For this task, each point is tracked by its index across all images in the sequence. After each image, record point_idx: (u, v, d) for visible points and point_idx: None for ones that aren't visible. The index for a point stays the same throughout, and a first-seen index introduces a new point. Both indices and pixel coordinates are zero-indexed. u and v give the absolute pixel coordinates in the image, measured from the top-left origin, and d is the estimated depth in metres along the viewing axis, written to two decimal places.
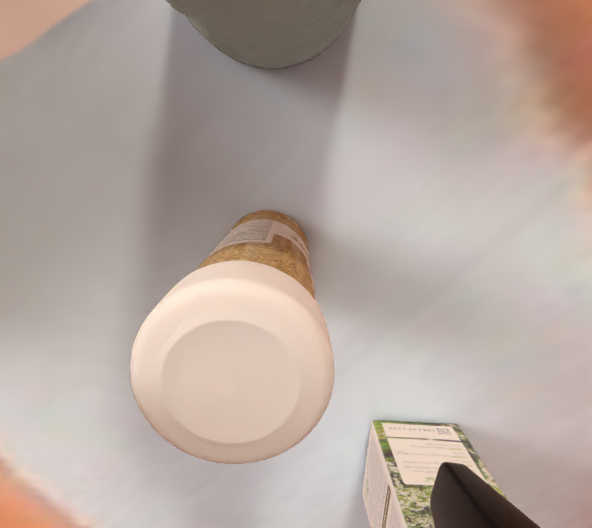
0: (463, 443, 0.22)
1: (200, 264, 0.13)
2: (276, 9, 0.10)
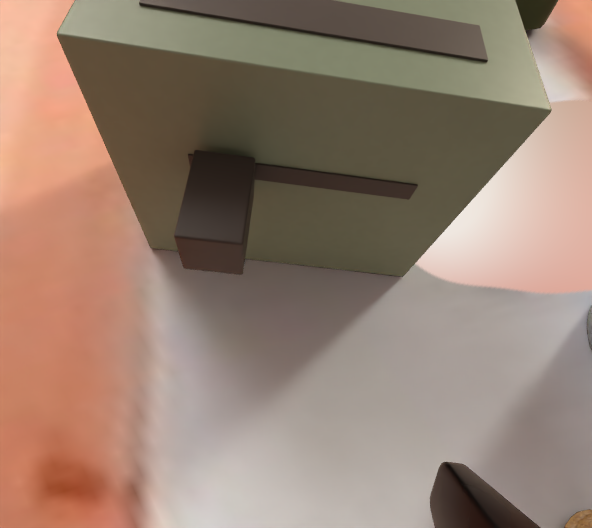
0: None
1: None
2: None
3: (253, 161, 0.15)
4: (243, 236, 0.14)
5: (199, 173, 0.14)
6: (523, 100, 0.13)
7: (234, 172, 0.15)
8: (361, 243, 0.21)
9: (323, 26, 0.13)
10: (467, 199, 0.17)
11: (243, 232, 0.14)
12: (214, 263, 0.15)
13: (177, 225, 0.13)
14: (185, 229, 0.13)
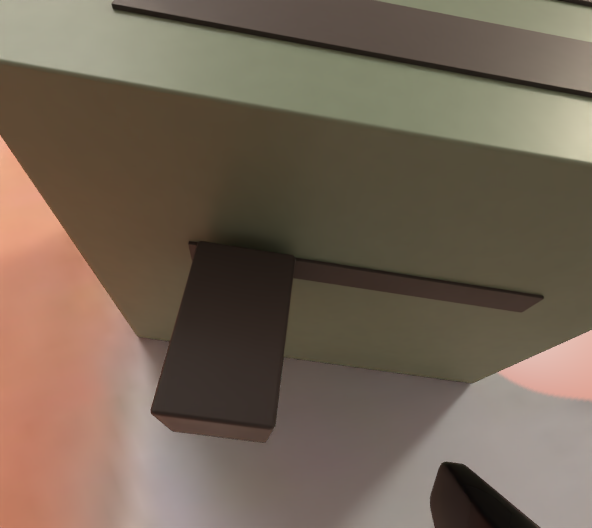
0: None
1: None
2: None
3: (292, 262, 0.09)
4: (275, 410, 0.08)
5: (204, 284, 0.09)
6: None
7: (261, 282, 0.09)
8: (427, 351, 0.15)
9: (429, 52, 0.08)
10: None
11: (275, 402, 0.08)
12: (221, 434, 0.09)
13: (158, 389, 0.07)
14: (172, 398, 0.07)
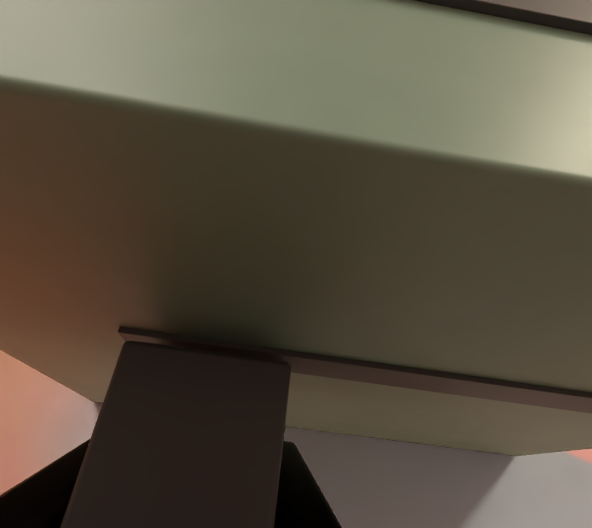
0: None
1: None
2: None
3: (286, 377, 0.05)
4: None
5: (126, 432, 0.05)
6: None
7: (231, 422, 0.05)
8: (469, 433, 0.11)
9: None
10: None
11: None
12: None
13: None
14: None
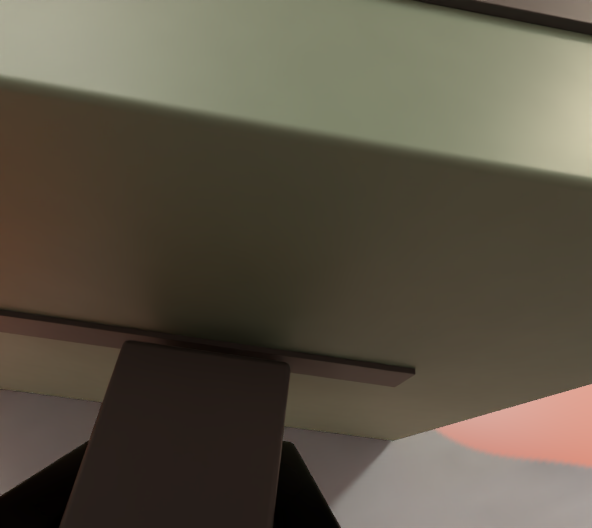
0: None
1: None
2: None
3: (285, 377, 0.05)
4: None
5: (125, 431, 0.05)
6: None
7: (230, 422, 0.05)
8: (309, 413, 0.11)
9: None
10: (536, 395, 0.07)
11: None
12: None
13: None
14: None
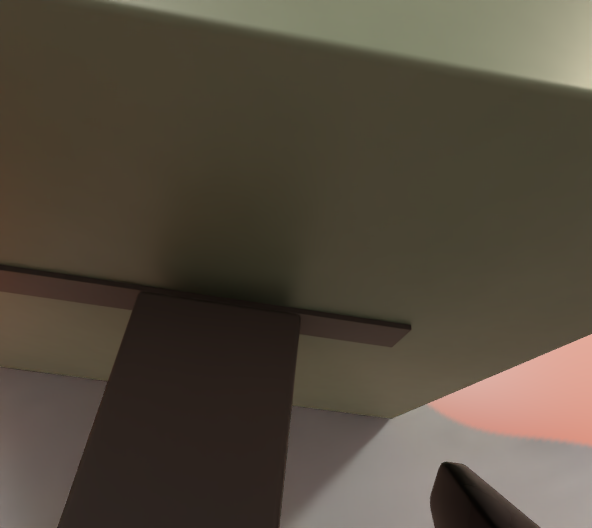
0: None
1: None
2: None
3: (296, 326, 0.06)
4: None
5: (142, 373, 0.05)
6: None
7: (243, 366, 0.05)
8: (308, 385, 0.11)
9: None
10: (530, 353, 0.07)
11: None
12: None
13: None
14: None
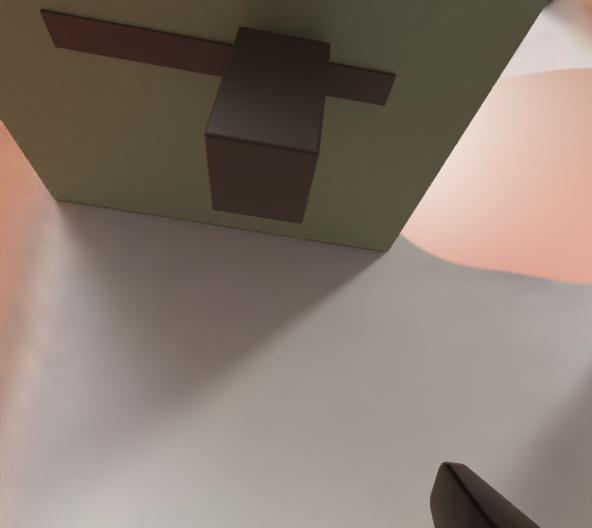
0: None
1: None
2: None
3: (328, 47, 0.10)
4: (319, 142, 0.08)
5: (247, 54, 0.09)
6: None
7: (300, 57, 0.09)
8: (325, 194, 0.16)
9: None
10: (472, 106, 0.11)
11: (319, 136, 0.08)
12: (262, 198, 0.09)
13: (210, 118, 0.08)
14: (223, 125, 0.08)
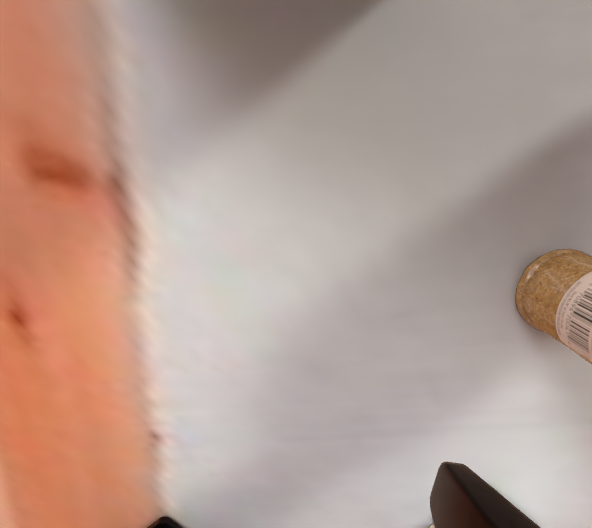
0: None
1: None
2: None
3: None
4: None
5: None
6: None
7: None
8: None
9: None
10: None
11: None
12: None
13: None
14: None
